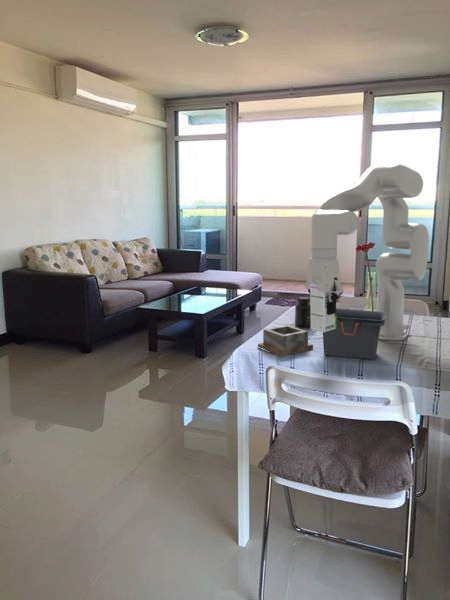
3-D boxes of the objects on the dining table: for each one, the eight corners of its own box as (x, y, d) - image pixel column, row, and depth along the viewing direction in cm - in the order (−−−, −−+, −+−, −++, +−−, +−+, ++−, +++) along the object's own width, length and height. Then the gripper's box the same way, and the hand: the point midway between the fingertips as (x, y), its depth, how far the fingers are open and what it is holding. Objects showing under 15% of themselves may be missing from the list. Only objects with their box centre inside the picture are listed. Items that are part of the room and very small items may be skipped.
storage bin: (384, 351, 170) (386, 310, 167) (383, 365, 156) (385, 321, 153) (321, 346, 177) (322, 307, 174) (314, 359, 162) (315, 316, 160)
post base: (290, 341, 184) (290, 323, 182) (313, 348, 174) (313, 330, 172) (257, 347, 176) (257, 330, 174) (279, 356, 166) (279, 337, 165)
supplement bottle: (311, 329, 200) (311, 299, 198) (294, 328, 202) (294, 299, 199) (311, 324, 207) (312, 296, 205) (295, 324, 208) (295, 296, 206)
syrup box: (324, 332, 151) (325, 285, 148) (309, 328, 155) (310, 283, 152) (336, 329, 154) (337, 283, 151) (321, 325, 159) (322, 280, 156)
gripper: (295, 252, 155) (295, 308, 159) (335, 257, 141) (334, 319, 144) (313, 250, 159) (313, 305, 163) (354, 255, 144) (353, 315, 148)
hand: (323, 311), depth 153 cm, fingers closed on syrup box, 6 cm apart
